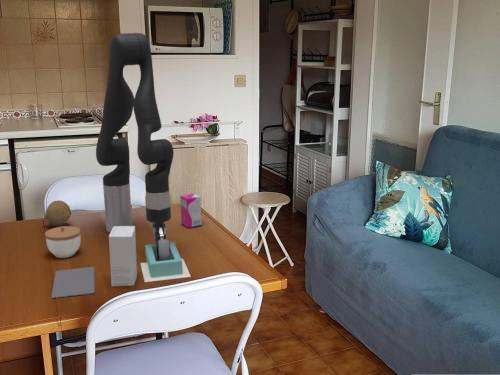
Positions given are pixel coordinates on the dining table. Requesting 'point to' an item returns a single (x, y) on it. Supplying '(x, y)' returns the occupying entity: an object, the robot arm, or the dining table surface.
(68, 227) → the lidded jar
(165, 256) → the post stand
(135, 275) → the skincare box
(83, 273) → the grey mat
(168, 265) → the teal link
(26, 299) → the dining table surface
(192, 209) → the supplement box
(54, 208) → the natural sponge
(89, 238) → the dining table surface
